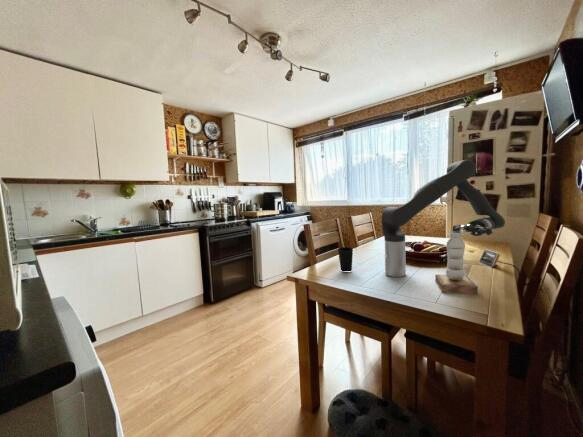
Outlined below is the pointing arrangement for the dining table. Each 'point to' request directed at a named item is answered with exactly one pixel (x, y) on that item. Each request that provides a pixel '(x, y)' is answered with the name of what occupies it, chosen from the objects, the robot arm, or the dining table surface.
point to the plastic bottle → (455, 256)
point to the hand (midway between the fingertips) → (466, 231)
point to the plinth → (456, 285)
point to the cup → (345, 258)
